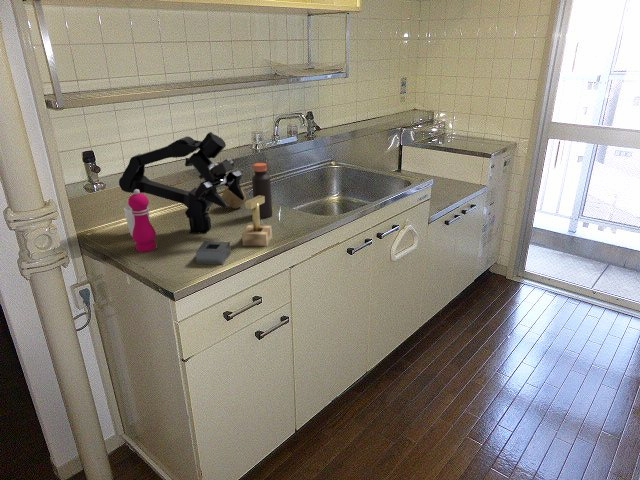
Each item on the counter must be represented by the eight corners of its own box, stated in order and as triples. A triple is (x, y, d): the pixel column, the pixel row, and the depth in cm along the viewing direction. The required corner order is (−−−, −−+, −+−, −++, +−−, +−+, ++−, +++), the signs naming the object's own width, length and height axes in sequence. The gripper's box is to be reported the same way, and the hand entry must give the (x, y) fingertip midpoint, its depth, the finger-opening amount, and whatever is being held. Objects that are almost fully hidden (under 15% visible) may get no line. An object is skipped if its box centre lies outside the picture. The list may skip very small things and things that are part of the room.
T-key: (253, 245, 154) (251, 202, 148) (247, 244, 155) (244, 201, 149) (266, 237, 161) (264, 196, 155) (260, 236, 162) (258, 195, 156)
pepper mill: (144, 254, 149) (134, 193, 141) (130, 249, 153) (118, 190, 145) (162, 246, 155) (153, 187, 147) (148, 242, 158) (138, 184, 151)
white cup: (129, 239, 161) (124, 212, 157) (128, 232, 168) (123, 205, 164) (153, 235, 164) (149, 208, 160) (151, 228, 170) (147, 202, 167)
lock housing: (197, 263, 142) (195, 251, 140) (206, 252, 149) (204, 241, 148) (222, 264, 141) (221, 252, 139) (230, 253, 148) (229, 241, 147)
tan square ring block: (242, 245, 154) (241, 233, 153) (249, 235, 162) (248, 225, 160) (266, 245, 153) (265, 234, 152) (272, 236, 161) (271, 225, 159)
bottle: (264, 211, 185) (261, 161, 178) (276, 215, 181) (273, 164, 173) (251, 215, 181) (247, 164, 173) (262, 219, 177) (258, 167, 169)
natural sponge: (218, 210, 188) (215, 185, 185) (232, 203, 196) (229, 180, 192) (236, 213, 184) (234, 188, 181) (250, 206, 192) (248, 182, 188)
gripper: (196, 158, 145) (228, 196, 144) (234, 146, 160) (263, 181, 159) (181, 180, 152) (211, 217, 151) (219, 167, 167) (247, 200, 166)
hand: (234, 203), depth 157 cm, fingers open, 9 cm apart
